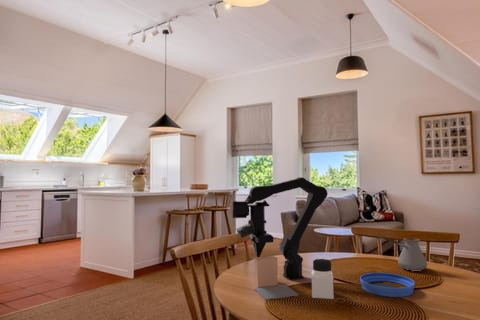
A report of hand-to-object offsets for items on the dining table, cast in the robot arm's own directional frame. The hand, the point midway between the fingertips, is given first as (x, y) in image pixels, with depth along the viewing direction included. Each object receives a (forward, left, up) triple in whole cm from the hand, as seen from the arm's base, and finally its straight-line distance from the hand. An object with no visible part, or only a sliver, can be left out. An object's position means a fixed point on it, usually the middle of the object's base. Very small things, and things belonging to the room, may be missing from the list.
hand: (258, 256), depth 138 cm
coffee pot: (-62, +10, -9) cm, 63 cm away
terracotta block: (0, +8, -8) cm, 12 cm away
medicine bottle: (-14, +25, -9) cm, 30 cm away
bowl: (-39, +27, -9) cm, 48 cm away
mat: (0, +17, -8) cm, 19 cm away
